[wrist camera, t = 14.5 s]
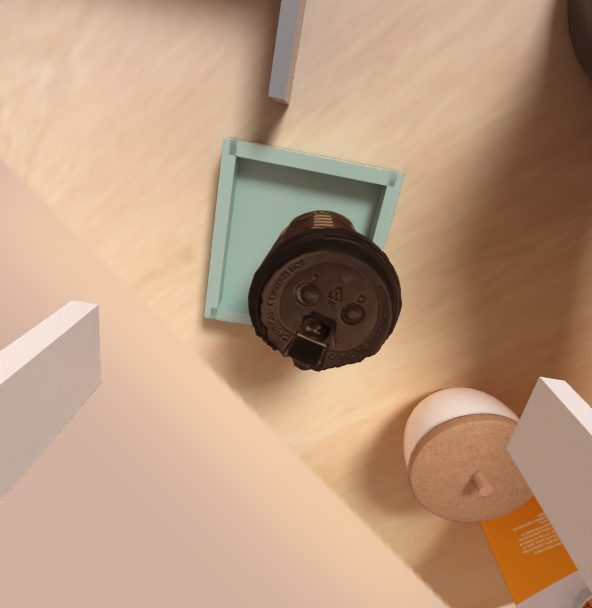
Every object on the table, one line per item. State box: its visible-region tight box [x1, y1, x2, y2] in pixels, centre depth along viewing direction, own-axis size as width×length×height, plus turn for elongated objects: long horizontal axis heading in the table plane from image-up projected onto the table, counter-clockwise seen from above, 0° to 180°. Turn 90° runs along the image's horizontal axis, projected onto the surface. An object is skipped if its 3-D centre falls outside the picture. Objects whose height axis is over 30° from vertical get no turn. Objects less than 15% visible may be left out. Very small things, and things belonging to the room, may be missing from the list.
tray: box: [204, 138, 405, 326], centre depth 33 cm, size 13×14×2 cm
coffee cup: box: [248, 210, 402, 372], centre depth 28 cm, size 9×8×13 cm
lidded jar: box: [404, 387, 534, 522], centre depth 36 cm, size 11×11×9 cm
